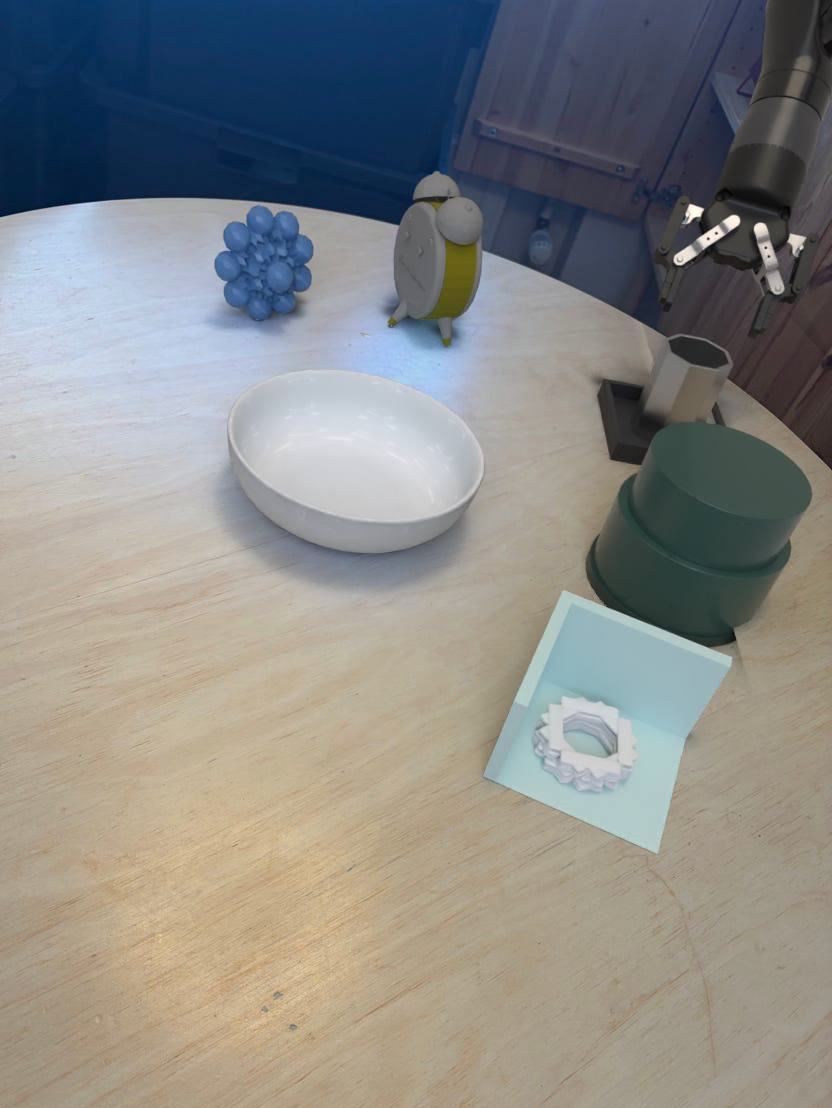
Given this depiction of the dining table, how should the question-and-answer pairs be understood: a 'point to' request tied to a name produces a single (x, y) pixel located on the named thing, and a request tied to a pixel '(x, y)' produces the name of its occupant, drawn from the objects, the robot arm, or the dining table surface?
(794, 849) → the dining table surface
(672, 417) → the cup
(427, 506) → the serving bowl
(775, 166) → the robot arm
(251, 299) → the blue knobbed cluster
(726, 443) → the green stepped cylinder
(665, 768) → the l-shaped corner panel
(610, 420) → the tray
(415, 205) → the alarm clock
